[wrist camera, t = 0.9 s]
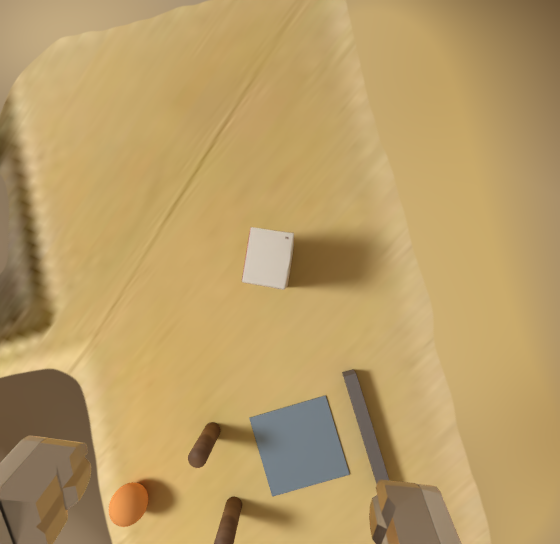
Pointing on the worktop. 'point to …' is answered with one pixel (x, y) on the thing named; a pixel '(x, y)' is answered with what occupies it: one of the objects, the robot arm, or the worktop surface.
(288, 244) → the small box
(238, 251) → the worktop surface
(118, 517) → the ball
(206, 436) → the post
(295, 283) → the worktop surface
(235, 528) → the post
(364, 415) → the wall
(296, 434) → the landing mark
